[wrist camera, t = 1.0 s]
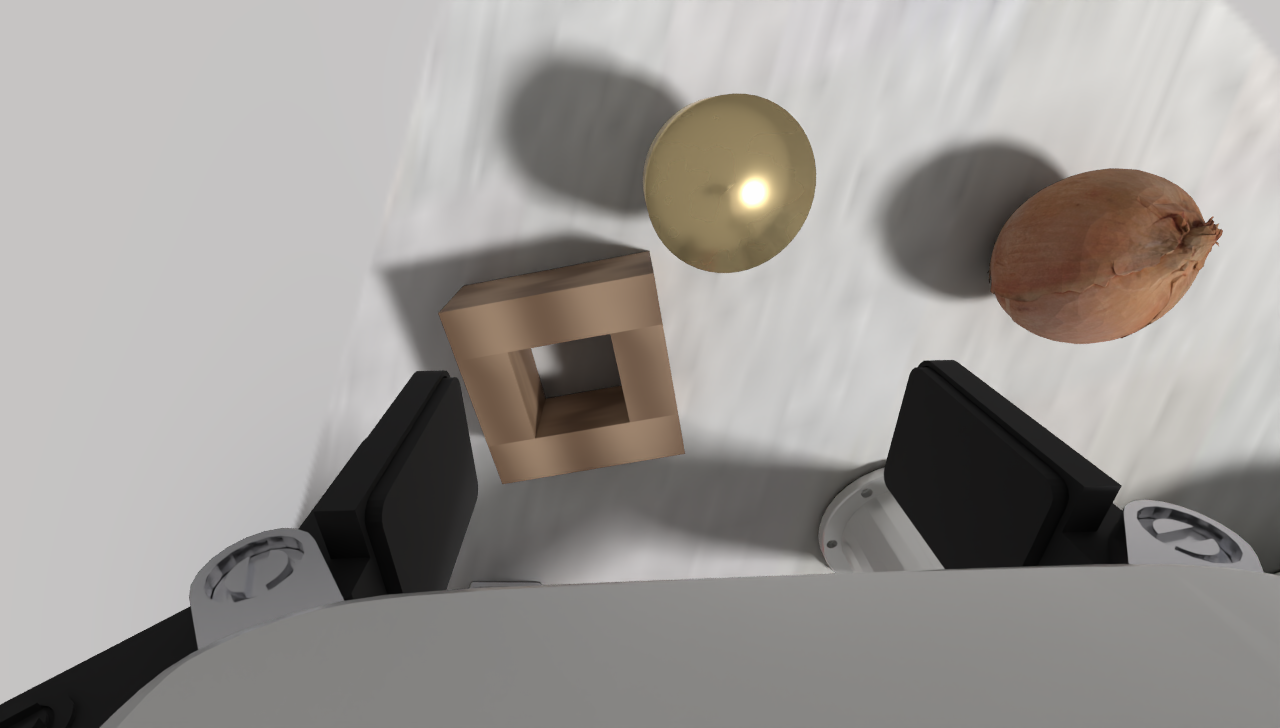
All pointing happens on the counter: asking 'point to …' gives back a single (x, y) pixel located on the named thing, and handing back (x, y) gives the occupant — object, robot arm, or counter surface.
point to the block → (554, 313)
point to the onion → (1099, 255)
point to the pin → (729, 182)
